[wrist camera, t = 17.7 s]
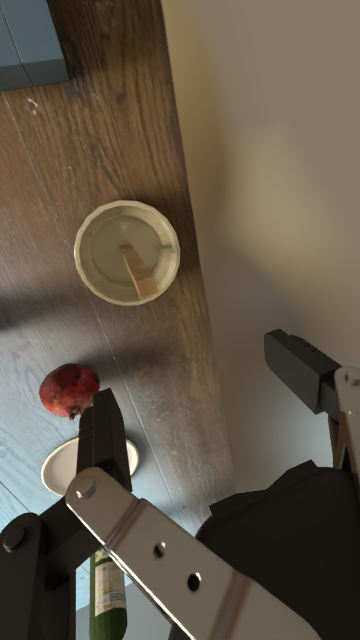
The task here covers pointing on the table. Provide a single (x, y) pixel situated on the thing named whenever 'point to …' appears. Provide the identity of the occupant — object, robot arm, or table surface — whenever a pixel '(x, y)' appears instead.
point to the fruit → (69, 390)
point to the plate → (73, 465)
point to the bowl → (105, 256)
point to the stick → (138, 272)
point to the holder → (29, 46)
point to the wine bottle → (106, 598)
